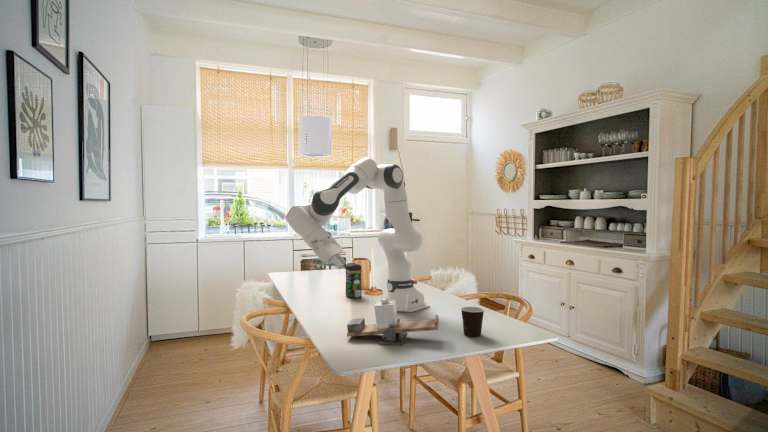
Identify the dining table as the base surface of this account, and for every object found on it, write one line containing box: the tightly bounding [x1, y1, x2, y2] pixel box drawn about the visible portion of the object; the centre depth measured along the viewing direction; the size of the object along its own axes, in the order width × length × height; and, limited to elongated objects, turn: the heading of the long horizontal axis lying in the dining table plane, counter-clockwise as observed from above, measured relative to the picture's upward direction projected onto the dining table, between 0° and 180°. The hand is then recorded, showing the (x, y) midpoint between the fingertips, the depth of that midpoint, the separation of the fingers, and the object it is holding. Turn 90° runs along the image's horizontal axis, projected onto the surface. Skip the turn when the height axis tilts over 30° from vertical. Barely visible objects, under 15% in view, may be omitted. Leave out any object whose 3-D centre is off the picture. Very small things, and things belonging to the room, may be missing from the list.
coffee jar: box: [345, 262, 362, 299], centre depth 230 cm, size 10×8×19 cm
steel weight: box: [374, 297, 399, 330], centre depth 159 cm, size 7×7×10 cm
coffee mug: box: [461, 306, 485, 338], centre depth 164 cm, size 12×9×10 cm
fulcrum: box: [379, 318, 407, 347], centre depth 159 cm, size 8×16×6 cm, turn 171°
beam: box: [346, 314, 440, 338], centre depth 159 cm, size 34×10×4 cm, turn 81°
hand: (342, 265), depth 161 cm, fingers open, 4 cm apart
